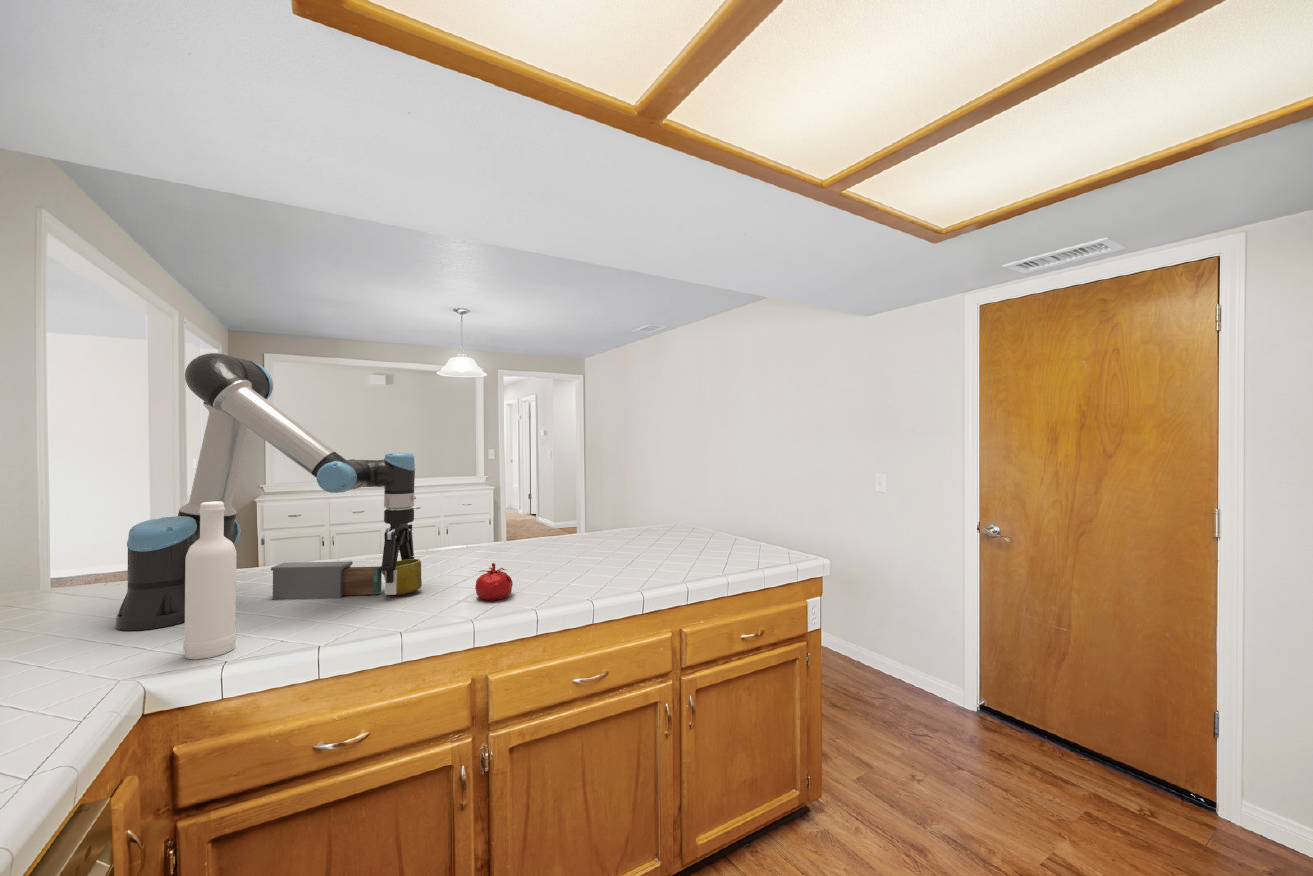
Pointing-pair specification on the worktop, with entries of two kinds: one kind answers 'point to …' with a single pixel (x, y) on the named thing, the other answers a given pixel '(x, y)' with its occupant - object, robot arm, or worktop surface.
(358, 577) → the gate
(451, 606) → the worktop surface
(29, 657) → the worktop surface
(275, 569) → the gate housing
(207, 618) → the bottle
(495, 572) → the pomegranate
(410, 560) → the mug
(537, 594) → the worktop surface
